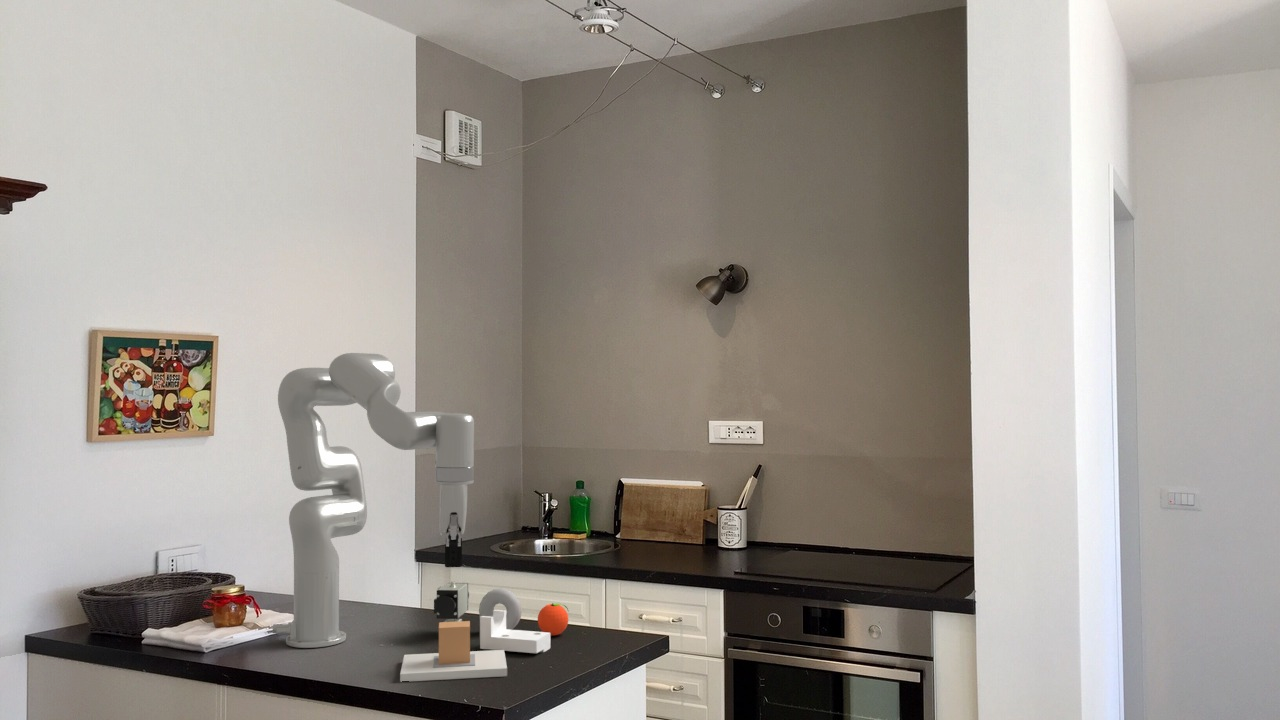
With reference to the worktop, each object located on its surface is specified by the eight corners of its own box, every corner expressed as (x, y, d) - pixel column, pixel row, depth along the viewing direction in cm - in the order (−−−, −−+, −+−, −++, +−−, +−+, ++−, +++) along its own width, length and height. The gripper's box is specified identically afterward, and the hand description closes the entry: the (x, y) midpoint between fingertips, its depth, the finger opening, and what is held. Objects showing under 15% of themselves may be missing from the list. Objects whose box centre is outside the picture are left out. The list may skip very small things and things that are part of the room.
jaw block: (438, 664, 194) (438, 627, 194) (439, 657, 199) (439, 622, 199) (470, 662, 195) (470, 626, 195) (469, 656, 200) (469, 621, 200)
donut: (523, 632, 227) (523, 587, 227) (518, 635, 223) (518, 590, 224) (482, 630, 229) (482, 586, 229) (476, 633, 225) (476, 589, 226)
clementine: (559, 629, 230) (559, 598, 230) (578, 634, 225) (578, 602, 225) (531, 635, 224) (531, 603, 224) (550, 640, 219) (550, 608, 219)
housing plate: (400, 681, 188) (400, 655, 188) (404, 662, 202) (404, 637, 202) (507, 676, 192) (507, 650, 192) (504, 657, 205) (504, 633, 206)
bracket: (480, 653, 210) (480, 616, 210) (495, 644, 217) (495, 609, 217) (536, 658, 206) (536, 621, 206) (550, 649, 213) (550, 613, 213)
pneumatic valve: (469, 629, 230) (469, 576, 230) (455, 642, 218) (455, 586, 218) (446, 628, 230) (446, 576, 231) (430, 641, 219) (430, 586, 219)
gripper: (436, 472, 206) (435, 555, 206) (433, 480, 189) (432, 571, 188) (473, 471, 207) (472, 554, 207) (474, 479, 190) (473, 570, 190)
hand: (453, 562), depth 198 cm, fingers open, 9 cm apart
